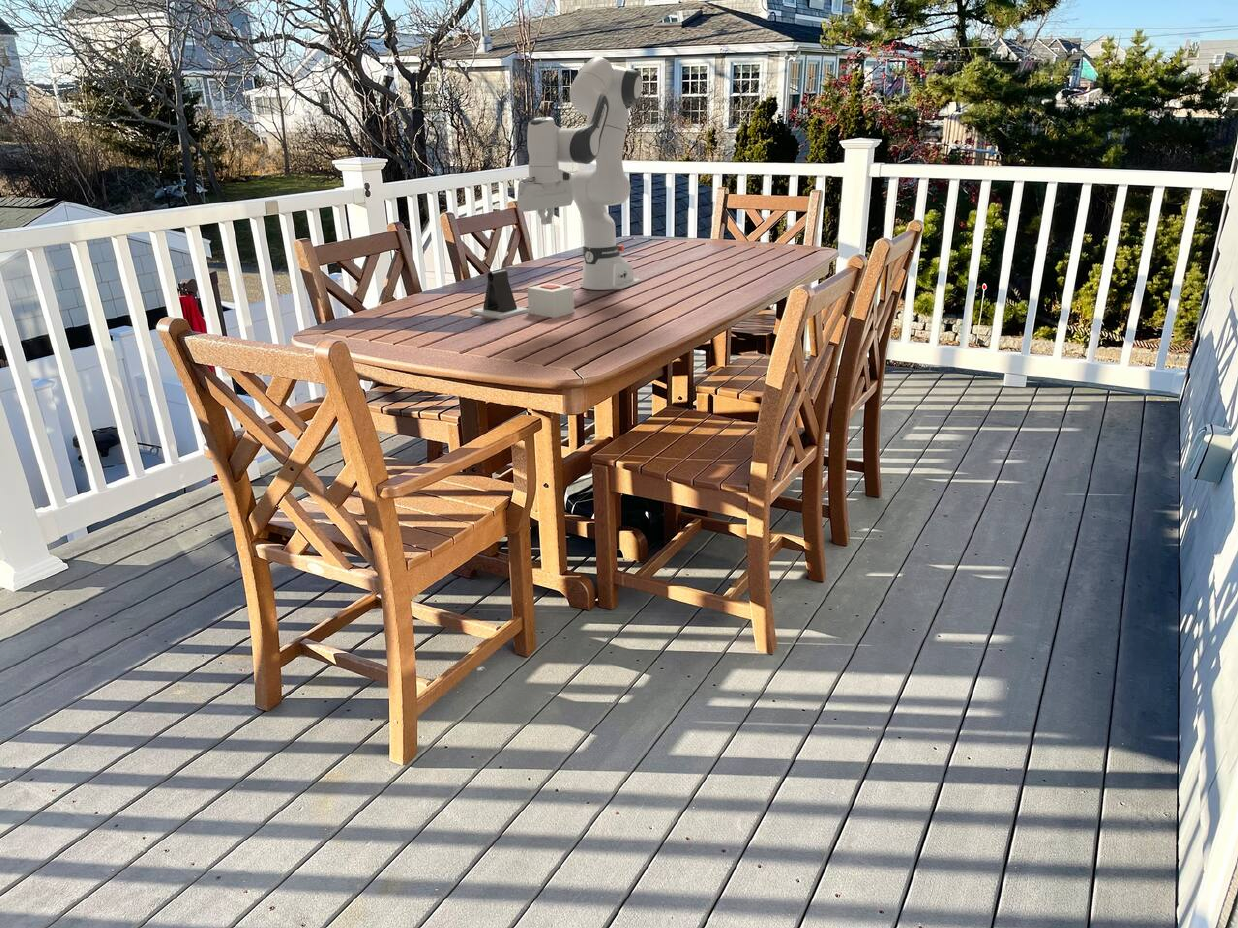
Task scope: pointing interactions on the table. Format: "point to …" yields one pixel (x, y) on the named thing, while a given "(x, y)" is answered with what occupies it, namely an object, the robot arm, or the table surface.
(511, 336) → the table surface
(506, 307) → the phone stand
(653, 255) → the table surface
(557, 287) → the button
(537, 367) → the table surface
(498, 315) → the grey mat
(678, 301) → the table surface
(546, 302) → the box
